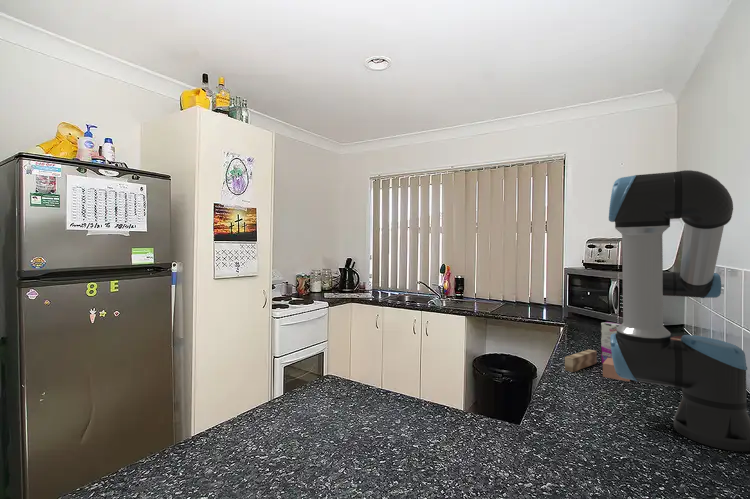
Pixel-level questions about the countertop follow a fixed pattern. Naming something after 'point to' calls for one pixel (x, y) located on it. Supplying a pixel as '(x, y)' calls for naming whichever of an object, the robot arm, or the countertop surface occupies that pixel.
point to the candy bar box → (607, 339)
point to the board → (580, 360)
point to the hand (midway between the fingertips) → (644, 377)
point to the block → (611, 370)
